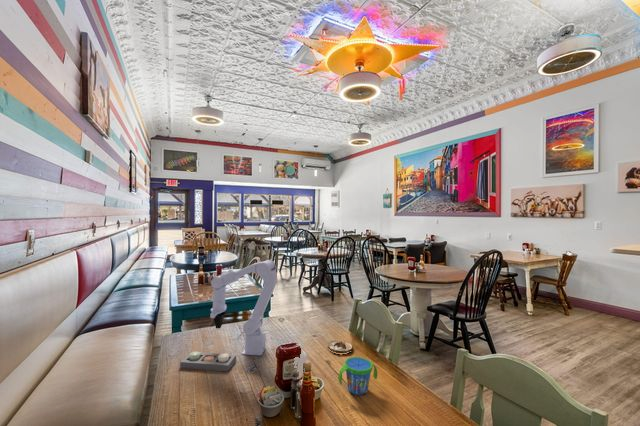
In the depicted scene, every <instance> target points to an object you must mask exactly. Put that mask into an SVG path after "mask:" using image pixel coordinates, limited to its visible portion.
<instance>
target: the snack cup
mask: <svg viewBox="0 0 640 426" xmlns="http://www.w3.org/2000/svg"><path fill="white" fill-rule="evenodd" d="M373 368H374V369H373ZM344 372H346V373H345V374H346V383H347V390H348V392H350V393H352V394H353V395H356V396H362V395H364V394H367V392H368V390H369V385H370V379H371V373H372V372H373V374H372V377H373V378H374V379H375V380H377V379H378V369H377V366H376V365H375V364H374V362H372V361H370V360H369V359H367V358H364V357H362V356H361V357H360V356H351V357H348V358H347V359H345V361H344V364H343V365H342V367H340V370H339V372H338V377H337V378H338V383H339V384H340V385H341V386H343V384H342V383H343V381H342V380H343V373H344Z"/></svg>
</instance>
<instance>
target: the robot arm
mask: <svg viewBox="0 0 640 426" xmlns="http://www.w3.org/2000/svg"><path fill="white" fill-rule="evenodd" d="M251 273H253V274H257V275H258V277H260V278H261V280H263V282H264V283H263V287H262V290H261V292H260V294H259V296H258V299H257V301H256V304H255V306H254V308H253V311H252V312H251V314H250V316H249V318H248V319H247V321H245V322H244V323H243V326H242V330H243V333H244V338H245V339H244V350H243V351H242V352H241V355H247V356H249V355H250V356H262V355H263V353H264V352H265V351H266V348H267V346H266V343H267V342H266V337H267V335H266V332H262V331H261V328H262V326H263V323H264V321H263V319H264V314H265V311H266V309H267V306H268V304H269V302H270V300H271V297H272V294H273V292H274V289H275V287H276V286H277V283H278V279H277V276H278V275H277V266H276V264H275V262H274V261H273V260H271V259H266V260H265V261H264V260H263V261H258V262H254V263H252V264H250V265H248V266H246V267H243V268H241V269H239V270H237V269H232V268H231V269H229V270H228V271H227V272H225V273H223V272H222V273H221V274H220V275H217V276H214V277H213V278H212V279H211V280H210V281H211V282H210V285H211V287H212V289H213V292H212V308H211V309H210V312H211V313H210V314H209V315H210V317H209V318H210V319H213V322H214V326H215V329H221V328H222V325H223V322H224V318H225V316H226V313H227V312H226V310H227V308H228V307H227V306H228V305H227V304H226V288H227V286H228V285H230V284H233V283H236V282H238V281H239V280H240V278H241V277H243V276H245V275H249V274H251Z"/></svg>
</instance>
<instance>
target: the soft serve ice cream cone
mask: <svg viewBox="0 0 640 426" xmlns="http://www.w3.org/2000/svg"><path fill="white" fill-rule="evenodd" d="M296 345H298V346H300V348H301V354H300V358H299V357H295V358H294V360H295V361H294V363H293V364H295V366H294V368H297V366H296V365H297V362H298V370H297V372H299V376H300V377H302V372H303V362H305V363H306V362H307V359H308V355H307V353H306V352H305V351H304V350H303V347H302V344H300V343H296Z"/></svg>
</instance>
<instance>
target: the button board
mask: <svg viewBox="0 0 640 426" xmlns="http://www.w3.org/2000/svg"><path fill="white" fill-rule="evenodd" d="M192 352H193V351H190V353H192ZM220 354H221V353H215V352H213V353H211V352H200V359H199V360H198V361H193V360H189V354H187V355H186V356H185V357H184V358H183V359H182V360H180V362H179V368H180V369H190V370H192V369H193V370H205V371H217V372H219V371H220V372H229V370H230V369H231V368H232V366H233V365H234V364H235V363H236V361H237V354H229V353H228V354H229V361H228V362H227V363H223V362H218V356H219V355H220ZM207 356H213V357H214V360H213V361H212V362H208V361H204V358H205V357H207Z"/></svg>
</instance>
